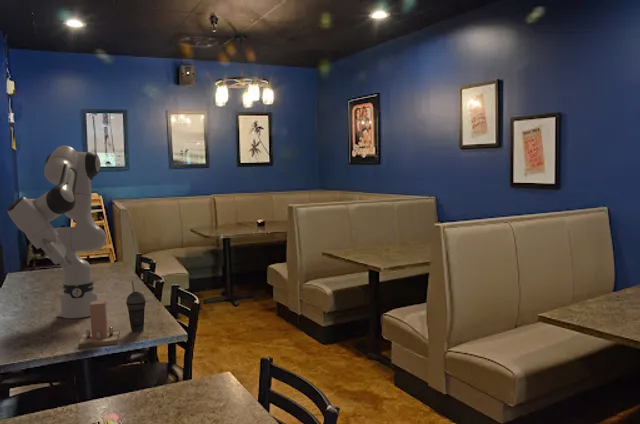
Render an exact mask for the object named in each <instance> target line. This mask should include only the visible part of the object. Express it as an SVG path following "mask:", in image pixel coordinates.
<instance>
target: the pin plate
mask: <svg viewBox="0 0 640 424" xmlns="http://www.w3.org/2000/svg"><path fill="white" fill-rule="evenodd" d="M120 331H121V330H120V328H119V329H114V327H113V326H109V327H108V335H107V338H101V333H100V331H97V332H96V336H97V339H92V332H91V328H90V329H86V330H85V332H84V333H83V334H82V336H81V338H80V340H79V342H78V349H83V348H92V347H101V346H109V345H110V346H111V345H118V343H119V340H120V334H121V332H120Z"/></svg>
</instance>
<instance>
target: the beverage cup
mask: <svg viewBox="0 0 640 424" xmlns="http://www.w3.org/2000/svg"><path fill="white" fill-rule="evenodd" d="M131 285H132V292H131V293H129V295H128V296H127V298H126V302H125V304H126V307H127V311H128V318H129V319H128V320H129V323H130V324H129V325H130V331H131V333H137V334H138V333H141V332H144V330H145V307H146V297H145V296H144V294H143V293H142V292H141V291H140V292H139V291H135V285H134V280H131Z"/></svg>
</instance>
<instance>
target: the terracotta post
mask: <svg viewBox="0 0 640 424" xmlns="http://www.w3.org/2000/svg"><path fill="white" fill-rule="evenodd" d="M89 317H90V327H91V328H90V333H92V339H97V336H96V332H97V331H100V333H101V338H107V335H108V331H109V329H108V319H107V318H108V316H107V301H106V299H105V300H104V299H103V300H97V301H91V303H90V316H89Z"/></svg>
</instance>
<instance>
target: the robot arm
mask: <svg viewBox="0 0 640 424" xmlns="http://www.w3.org/2000/svg"><path fill="white" fill-rule="evenodd" d="M100 171H101V159H100V157H99V155H98V154H97V153H95V152H93V151H91V152H90V151H87V152H86V151H76V149H75V148H73V147H71V146H70V145H59V146H58V147H56V149H54V150H53V152H51V153H50V154H48V156H46V159H45V166H44V172H43V173H44V177H45V178H46V179H47V181H48V182H49V183H51V184H52V185H55V186H54V187H52V188H51V189H49V190H48V191H46V192H45V193H44V194H42V195H40V196H39V197H37V198H28V197H25V196H21V197H19V198H17V199H16V200H15V201H13V202H12V203H11V204H10V205H9V206H8V208H7V210H6V211H7V214H8V216H9V217H10V219H11V220H12V222H13V223H14V225H16V227H17V228H18V229H19V230H20V231H21V232H23V233H24V234H25V236H26V238H27V240H29V242H30V243H31V245H33V247H35V249H36V250H39V249H42V251H43V252H44V253H45V255H46V256H47V257H48V258H49V260H50V261H52V263H53V265H56V266H57V265H58V264H59V265H60V266H61V268H62V273H63V274H62V275H63V281H64V282H63V286H62V287H63V289H62V290H63V295H62V296H61V297H60V311H59V312H58V313H57V314H56V318H57V317H58V318H64V319H81V318H87V317H90V303H91V301H98V293H96V292H95V290H94V281H93V279H92V278H93V277H92V266H91V264H90V263H89V262H88V260H86V259H83V258H81V257H80V256H79V255H78V252H80V253H81V252H94V251H97V250H102V249H103V247H104V246H105V244H106V243H107V233H106V232H105V230H104V229H103V228H102V227H100V226H99V225H98V224H97V223H96V222H95V219H94V218H93V215H92V195H93V194H92V193H93V192H92V182H91V181H92V180H93V179H94V178H95V177H96V176H98V174H99V173H100ZM62 215H65V216H66V217H67V218H69V219H70V220H73V221H75V226H66V227H65V226H64V227H63V226H62V227H61V226H60V227H54V226H53V225H52V224H51V223H50V222H52V221H53V220H56V219H57V218H59V217H61V216H62Z"/></svg>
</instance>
